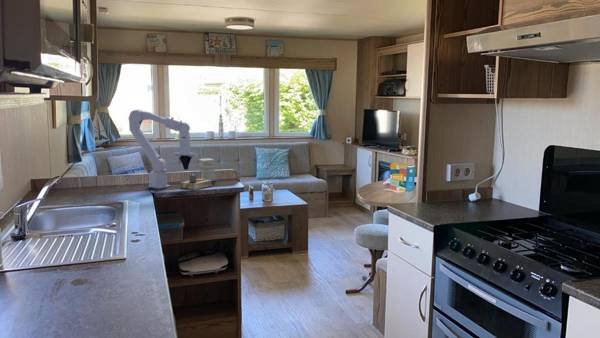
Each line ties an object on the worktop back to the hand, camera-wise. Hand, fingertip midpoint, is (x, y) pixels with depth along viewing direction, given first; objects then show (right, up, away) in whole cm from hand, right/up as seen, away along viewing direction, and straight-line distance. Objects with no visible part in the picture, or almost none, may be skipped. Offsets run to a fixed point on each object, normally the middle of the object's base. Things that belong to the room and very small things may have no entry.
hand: (186, 169), depth 262 cm
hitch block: (+6, -10, 0) cm, 11 cm away
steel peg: (+5, -10, -2) cm, 11 cm away
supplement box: (+8, -7, +19) cm, 21 cm away
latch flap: (+8, -6, +2) cm, 10 cm away
